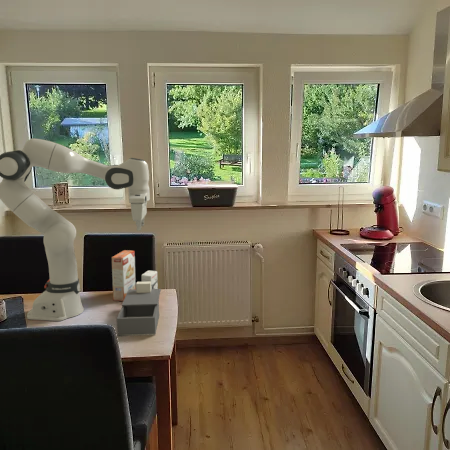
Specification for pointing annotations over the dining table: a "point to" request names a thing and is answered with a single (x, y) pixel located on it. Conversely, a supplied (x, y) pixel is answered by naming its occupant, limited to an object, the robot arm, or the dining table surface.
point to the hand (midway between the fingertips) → (140, 228)
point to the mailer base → (138, 320)
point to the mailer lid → (142, 295)
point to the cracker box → (123, 274)
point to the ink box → (150, 278)
